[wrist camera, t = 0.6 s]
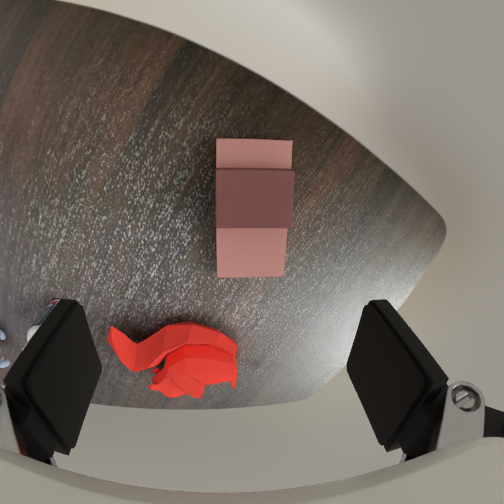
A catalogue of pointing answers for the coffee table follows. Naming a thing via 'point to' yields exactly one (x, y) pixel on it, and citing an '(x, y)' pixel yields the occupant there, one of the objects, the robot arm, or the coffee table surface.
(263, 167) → the pink slab
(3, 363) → the toy figure
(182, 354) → the animal figurine
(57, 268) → the coffee table surface
